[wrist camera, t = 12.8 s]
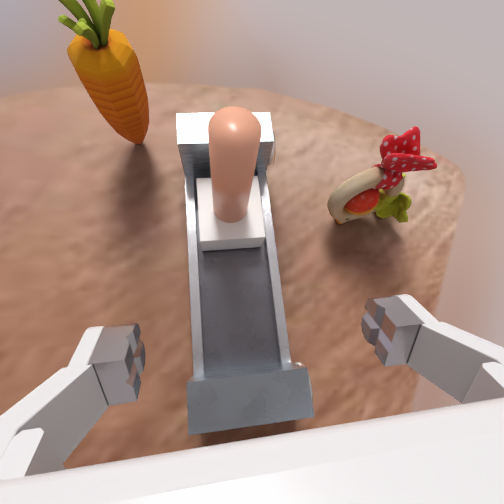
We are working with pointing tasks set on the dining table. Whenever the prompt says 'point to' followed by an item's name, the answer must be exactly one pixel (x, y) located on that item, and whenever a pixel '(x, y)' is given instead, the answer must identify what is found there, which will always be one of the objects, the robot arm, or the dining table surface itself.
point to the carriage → (231, 183)
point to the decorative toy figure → (381, 182)
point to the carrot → (108, 68)
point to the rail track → (237, 310)
